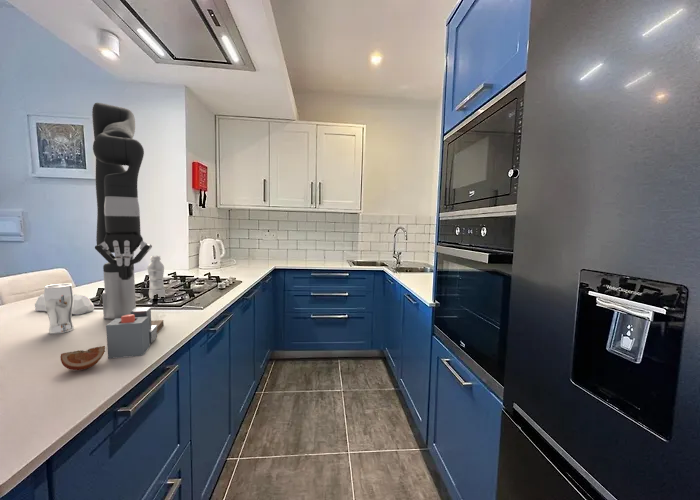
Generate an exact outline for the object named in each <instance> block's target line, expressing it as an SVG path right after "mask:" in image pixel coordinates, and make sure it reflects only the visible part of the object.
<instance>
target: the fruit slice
mask: <svg viewBox="0 0 700 500" xmlns="http://www.w3.org/2000/svg"><path fill="white" fill-rule="evenodd" d="M105 349H106V345H101V346H96V347H91V348H88V349H86V350H74V351H68V352H63V353H61V354H60V355H59V356H60V362H61V364H62V366H63V367H64V368H66V369H68V370H69V371H70V370H71V371H83V370H87V369H90V368H92V367H94V366H95V365H97V364H98V362H100V360H101V359H102V358H103V356H104V354H105V352H106V350H105Z"/></svg>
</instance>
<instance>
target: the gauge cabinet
mask: <svg viewBox="0 0 700 500" xmlns="http://www.w3.org/2000/svg"><path fill="white" fill-rule="evenodd" d="M105 329H106V330H105V331H106V332H105V333H106V346H107V348H106V349H107V359H118V358H129V357H139V356H144V355H145V354H146V352H147V351H148V350H149V348H150V346H151V344H150V342H149V320H148V316H147V317H135V321H134V322H130V323H121V318H117V319H112V320H111V321H110V322H109V323H107V324H106V325H105Z"/></svg>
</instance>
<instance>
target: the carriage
mask: <svg viewBox="0 0 700 500" xmlns="http://www.w3.org/2000/svg"><path fill="white" fill-rule="evenodd" d="M151 309H152V307H148V306H147V307H136V308H135V309H134V310H132V311H131V314H134V315H135V317H147V316H148V320H149V342H150V345H152V343H153V342H154V341H155V339H157V337H158V333H157V325H152V326H151V321H152V310H151Z"/></svg>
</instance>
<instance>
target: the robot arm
mask: <svg viewBox="0 0 700 500" xmlns="http://www.w3.org/2000/svg"><path fill="white" fill-rule="evenodd" d="M91 113H92V115H91V117H92V118H91V119H92V127H93V139H94V140H93V144H92V150H93V154H94V156H95V194H96V207H97V208H96V209H97V211H96V213H97V214H96V215H97V219H96V220H97V221H96V239H95V240H96V245H95V246H94V249H95V250H96V251H97V252H98V253H99V254H100V255H101V256H102V257H103V258H104V259H105V260H106V261H107V262H106V263H104V264H103V266H102V269H103V270H102V271H103V286H104V288H103V289H104V291H103V292H102V294H101V296H102V311H103V319H108V320H114V319H117V318H121V316H123V315H129V314H131V311H132V310H134V309H135V308H137V307H136V306H137V305H136V302H137V301H136V285H135V284H136V283H135V267H134V266H135V265H134V264H138V263H140V262H141V261H142V260H143V258H144V257H146V255H147V254H148V252H150V250H151V249H152V248H153V245H152V244H151V243H147V242H145V241H144V238H143V236H142V235H141V219H140V218H141V215H140V214H141V211H140V203H139V199H138V198H139V196H138V195H139V194H138V193H139V191H138V178H139V173H140V169H141V166H142V163H143V160H144V156H145V151H144V147H143V145H142V143H141V142H140V141H139V140H137V139H135V138H134V136H135V132H136V119H135V114H134V113H133V111H132V110H130V109H128V108H125V107H123V106H117V105H112V104H107V103H102V102H95V103H94V104H92V111H91ZM124 166H127V167H128V168H127V169H125V167H124ZM138 248H139V250H140V251H139V252H138V253H137V254H136V255H135V252H136V251H137V249H138ZM134 255H135V256H134Z"/></svg>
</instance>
